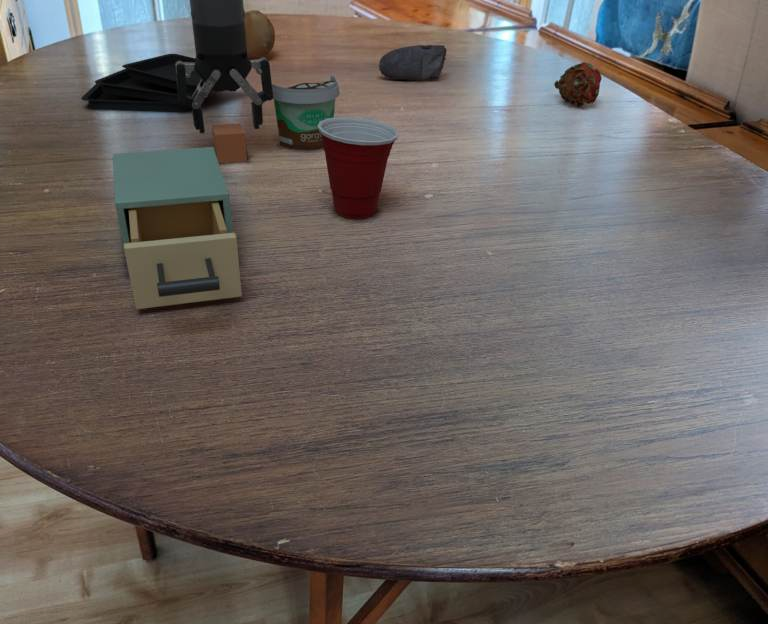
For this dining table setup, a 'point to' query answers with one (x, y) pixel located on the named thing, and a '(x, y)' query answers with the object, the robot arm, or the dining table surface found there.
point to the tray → (143, 86)
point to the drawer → (181, 255)
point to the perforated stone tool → (414, 62)
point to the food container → (304, 112)
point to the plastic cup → (356, 162)
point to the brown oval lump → (258, 34)
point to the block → (229, 143)
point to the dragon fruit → (579, 84)
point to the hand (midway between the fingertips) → (229, 129)
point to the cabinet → (167, 182)
